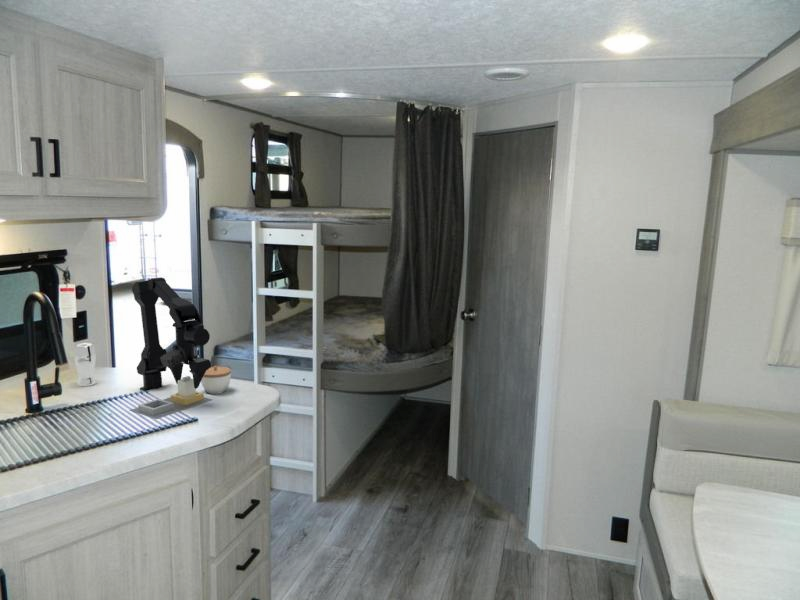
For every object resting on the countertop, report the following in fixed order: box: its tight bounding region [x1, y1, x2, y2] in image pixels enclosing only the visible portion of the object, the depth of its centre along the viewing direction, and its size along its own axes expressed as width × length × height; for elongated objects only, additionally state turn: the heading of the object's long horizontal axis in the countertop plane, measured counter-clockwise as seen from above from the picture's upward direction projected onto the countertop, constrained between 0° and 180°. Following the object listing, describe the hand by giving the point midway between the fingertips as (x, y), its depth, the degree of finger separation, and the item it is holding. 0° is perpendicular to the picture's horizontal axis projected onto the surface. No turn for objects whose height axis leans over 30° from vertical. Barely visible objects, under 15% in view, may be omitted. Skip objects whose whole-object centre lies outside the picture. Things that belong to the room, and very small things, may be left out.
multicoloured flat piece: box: [128, 390, 213, 420], centre depth 188 cm, size 14×22×3 cm, turn 149°
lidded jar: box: [200, 365, 232, 395], centre depth 205 cm, size 11×11×9 cm
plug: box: [177, 375, 197, 398], centre depth 192 cm, size 4×4×8 cm
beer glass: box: [73, 342, 97, 387], centre depth 211 cm, size 7×7×15 cm
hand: (187, 386), depth 192 cm, fingers open, 9 cm apart
